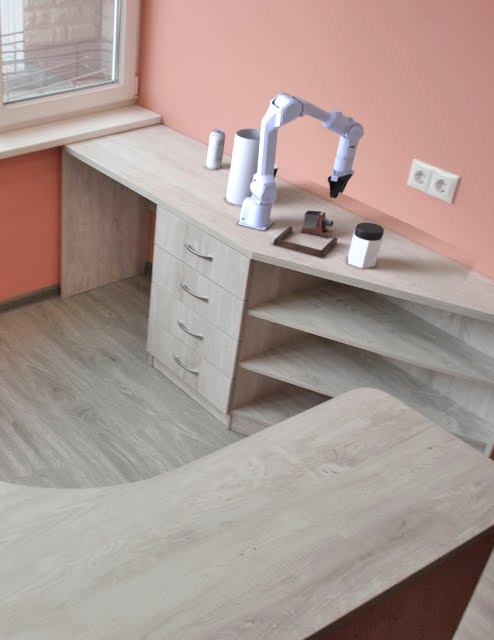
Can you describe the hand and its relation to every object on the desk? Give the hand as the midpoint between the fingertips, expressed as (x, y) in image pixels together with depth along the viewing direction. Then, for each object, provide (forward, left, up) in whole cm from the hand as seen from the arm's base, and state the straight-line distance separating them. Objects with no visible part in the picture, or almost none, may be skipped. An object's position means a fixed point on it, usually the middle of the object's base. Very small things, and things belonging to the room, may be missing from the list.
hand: (336, 194), depth 275 cm
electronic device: (0, -14, -10) cm, 17 cm away
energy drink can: (-56, +23, -10) cm, 61 cm away
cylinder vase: (-32, -2, -10) cm, 33 cm away
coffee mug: (-31, +12, -10) cm, 35 cm away
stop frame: (0, -24, -9) cm, 25 cm away
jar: (+19, -27, -10) cm, 34 cm away
